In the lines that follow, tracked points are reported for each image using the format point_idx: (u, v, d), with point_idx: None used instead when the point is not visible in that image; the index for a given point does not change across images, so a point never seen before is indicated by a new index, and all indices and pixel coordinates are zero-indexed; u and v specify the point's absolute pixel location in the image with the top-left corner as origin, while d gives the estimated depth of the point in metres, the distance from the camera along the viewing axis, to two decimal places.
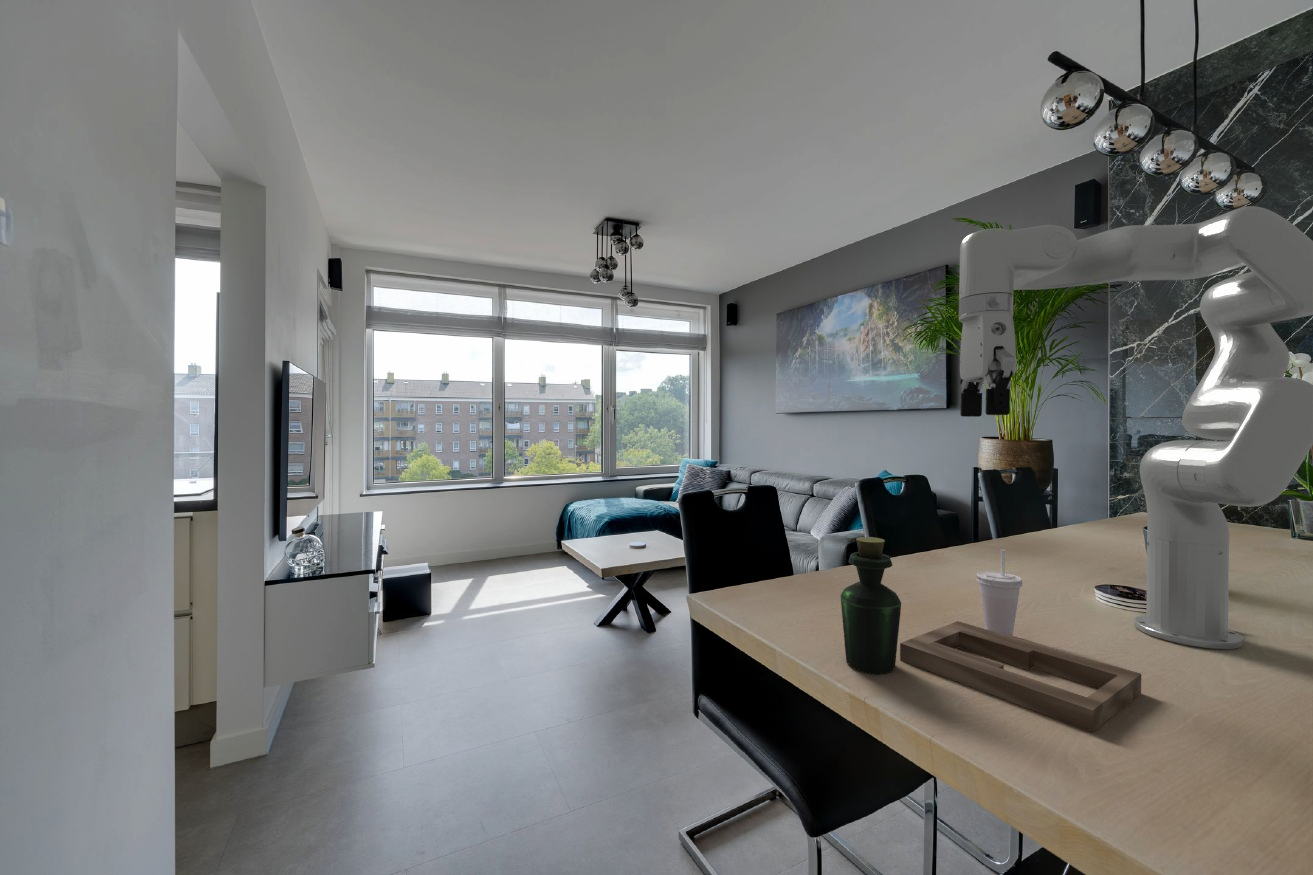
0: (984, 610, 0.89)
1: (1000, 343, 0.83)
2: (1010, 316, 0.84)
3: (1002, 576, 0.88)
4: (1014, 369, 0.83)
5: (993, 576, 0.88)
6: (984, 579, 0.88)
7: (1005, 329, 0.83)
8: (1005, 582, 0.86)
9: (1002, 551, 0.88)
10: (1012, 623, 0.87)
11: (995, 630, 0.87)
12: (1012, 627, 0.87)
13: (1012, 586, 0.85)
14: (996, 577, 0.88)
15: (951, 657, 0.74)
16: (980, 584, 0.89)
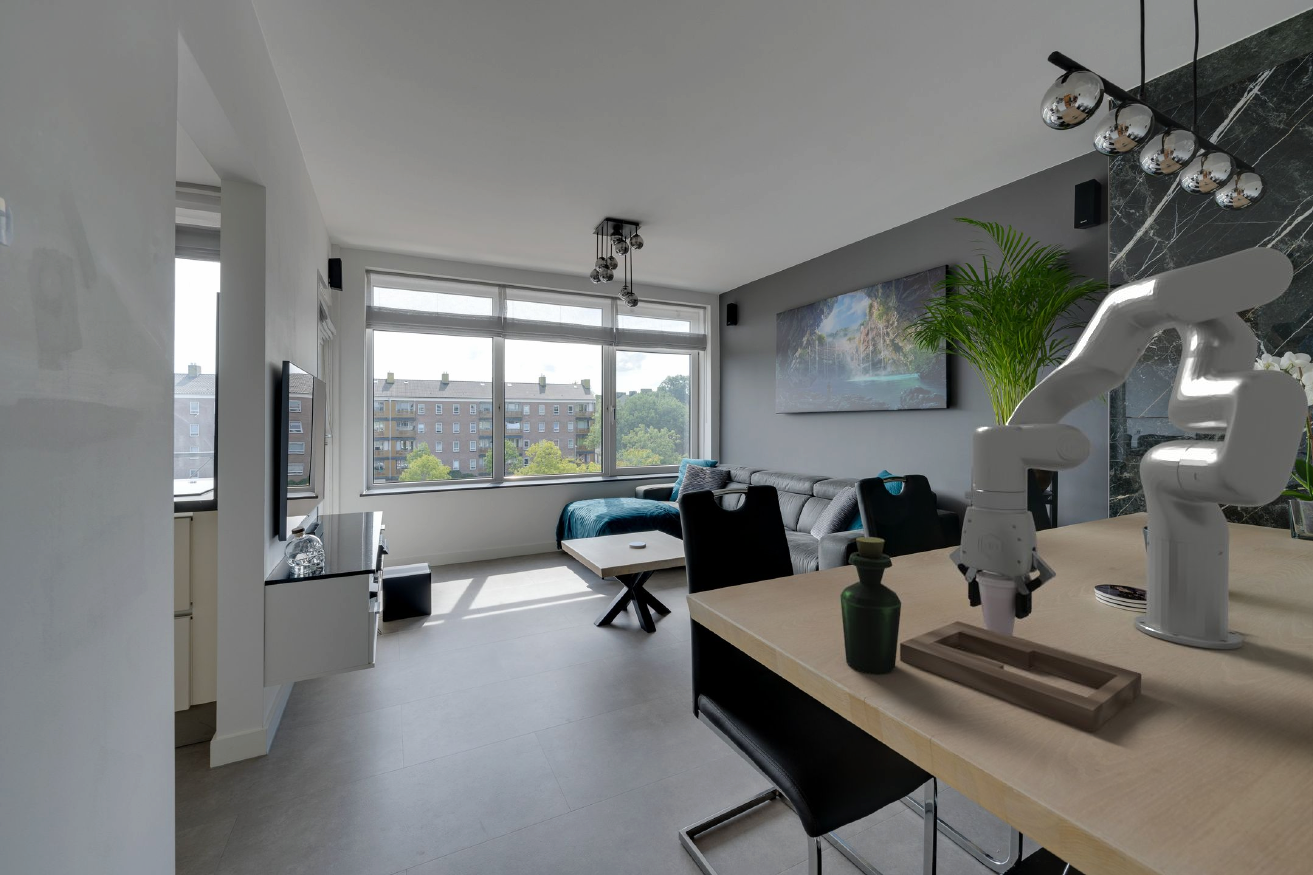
0: (984, 610, 0.89)
1: None
2: (966, 510, 0.91)
3: (1002, 576, 0.88)
4: (961, 559, 0.91)
5: (993, 576, 0.88)
6: (984, 579, 0.88)
7: None
8: (1005, 582, 0.86)
9: None
10: (1012, 623, 0.87)
11: (995, 630, 0.87)
12: (1012, 627, 0.87)
13: (1012, 586, 0.86)
14: (996, 577, 0.88)
15: (951, 657, 0.74)
16: (980, 584, 0.89)
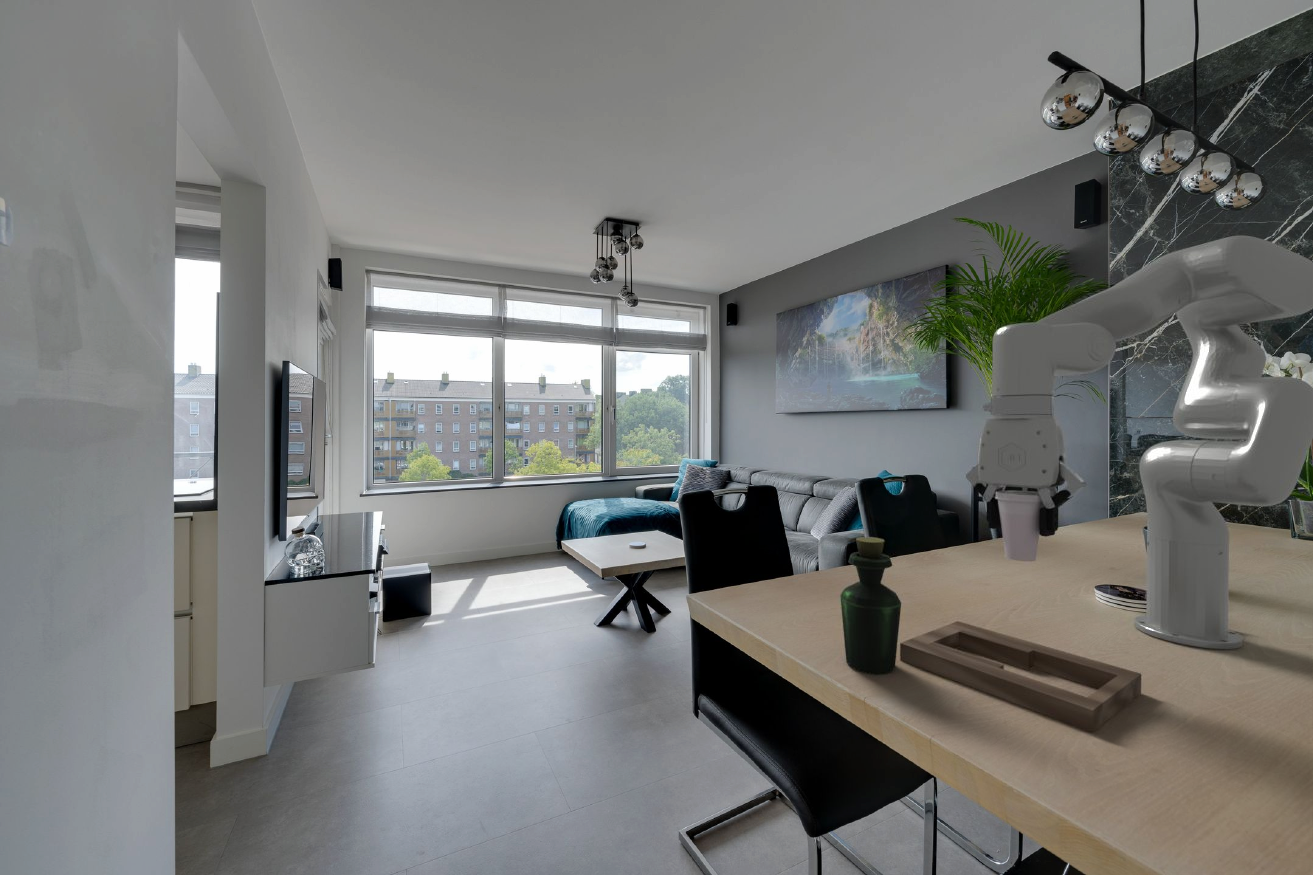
0: (1004, 530, 0.80)
1: None
2: (985, 422, 0.82)
3: (1024, 492, 0.79)
4: (978, 476, 0.83)
5: (1014, 492, 0.80)
6: (1004, 495, 0.79)
7: None
8: (1027, 496, 0.77)
9: None
10: (1035, 543, 0.78)
11: (1016, 551, 0.79)
12: (1035, 547, 0.78)
13: (1035, 500, 0.77)
14: (1017, 493, 0.79)
15: (951, 657, 0.74)
16: (999, 502, 0.81)
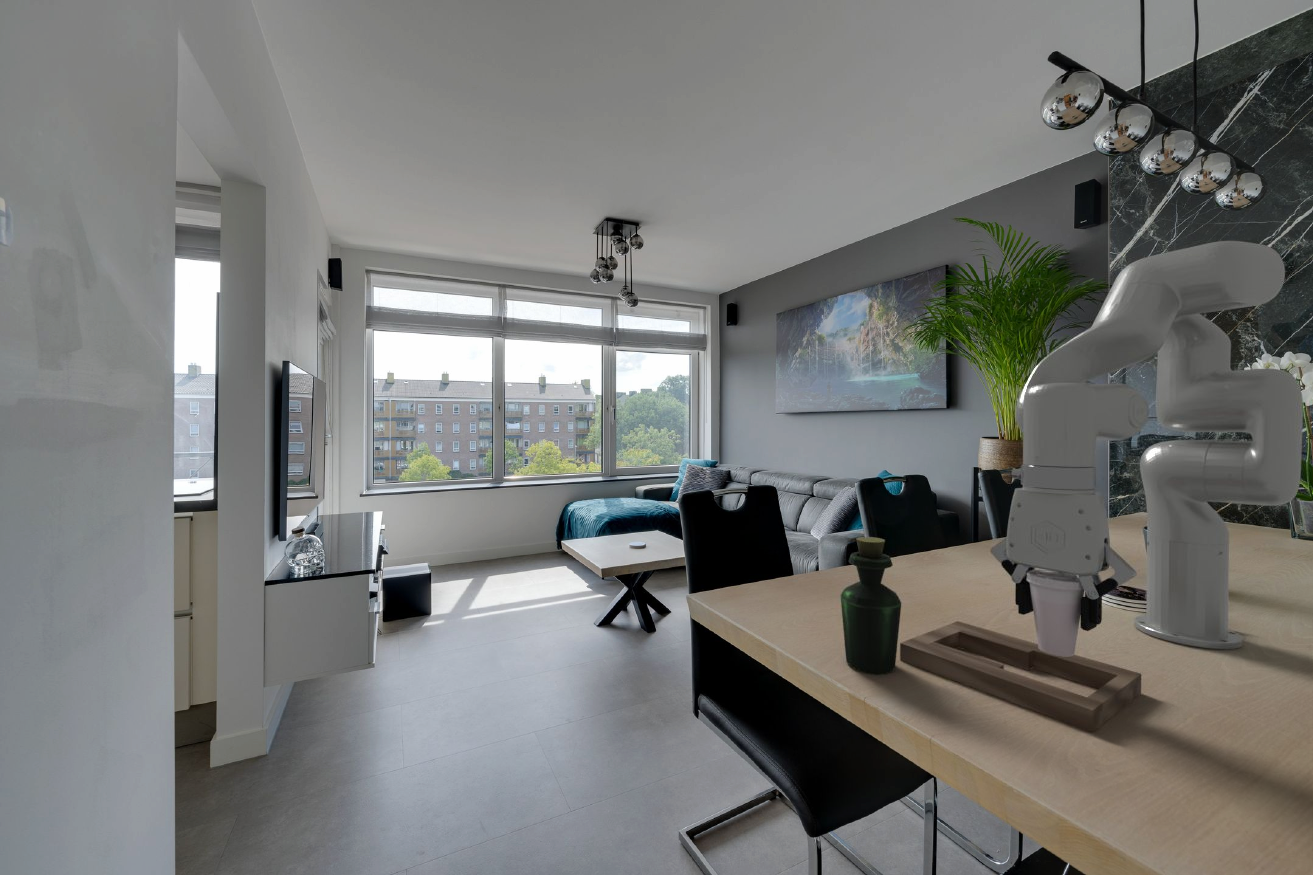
0: (1037, 619, 0.70)
1: None
2: (1014, 493, 0.72)
3: (1061, 575, 0.69)
4: (1007, 554, 0.72)
5: (1049, 575, 0.69)
6: (1038, 579, 0.69)
7: None
8: (1067, 583, 0.67)
9: None
10: (1075, 636, 0.68)
11: (1053, 644, 0.68)
12: (1075, 641, 0.68)
13: (1076, 588, 0.67)
14: (1053, 577, 0.69)
15: (951, 657, 0.74)
16: (1032, 586, 0.70)
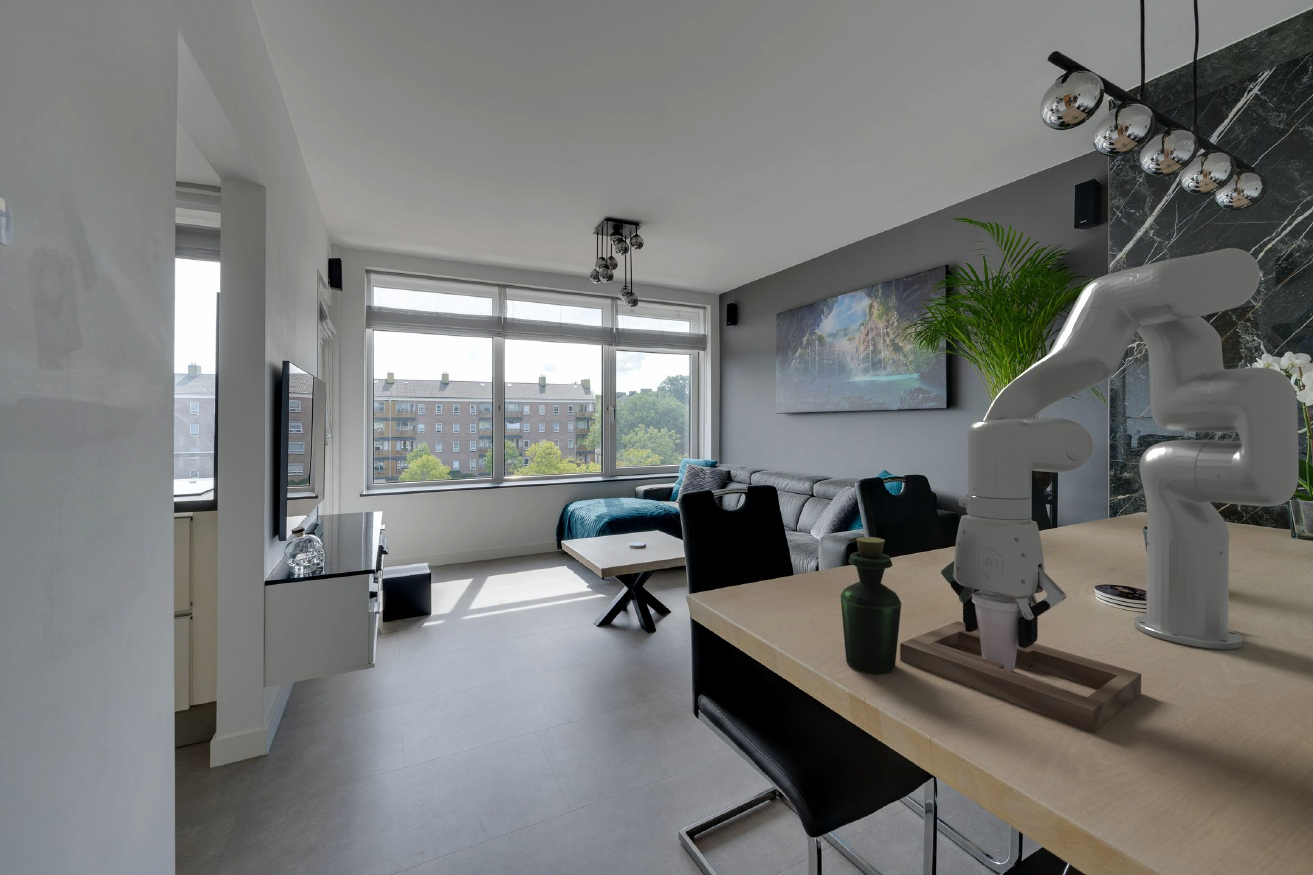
0: (981, 637, 0.76)
1: None
2: (960, 520, 0.78)
3: (1002, 597, 0.75)
4: (954, 576, 0.78)
5: (991, 597, 0.75)
6: (981, 601, 0.75)
7: None
8: (1005, 604, 0.73)
9: None
10: (1014, 652, 0.74)
11: (994, 660, 0.74)
12: (1014, 657, 0.74)
13: (1014, 609, 0.73)
14: (995, 598, 0.75)
15: (951, 657, 0.74)
16: (976, 606, 0.76)
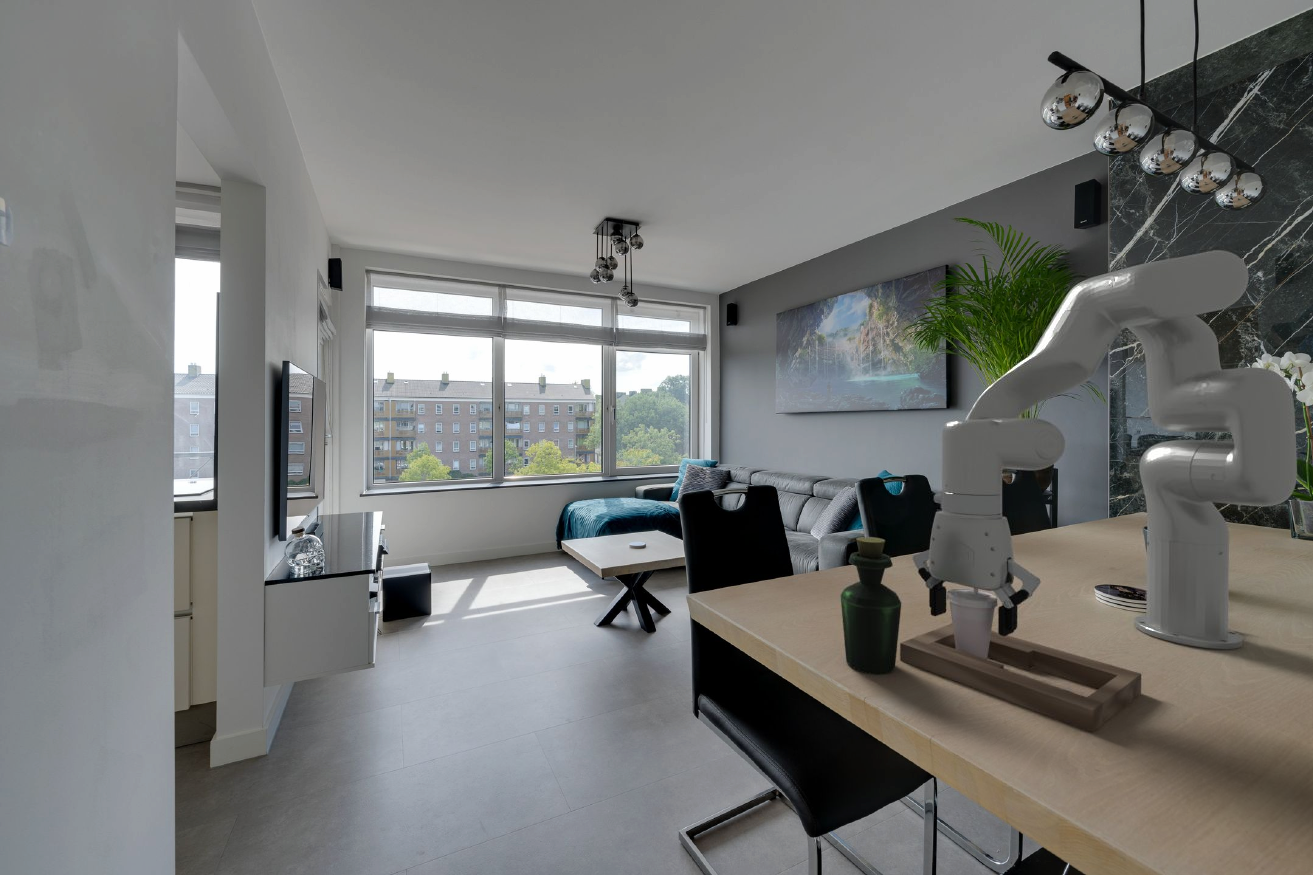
0: (955, 633, 0.79)
1: None
2: (935, 516, 0.81)
3: (975, 595, 0.78)
4: (929, 570, 0.81)
5: (965, 595, 0.79)
6: (954, 598, 0.78)
7: None
8: (977, 602, 0.76)
9: None
10: (986, 648, 0.77)
11: None
12: (986, 652, 0.77)
13: (985, 607, 0.76)
14: (968, 596, 0.78)
15: (951, 657, 0.74)
16: (951, 603, 0.79)
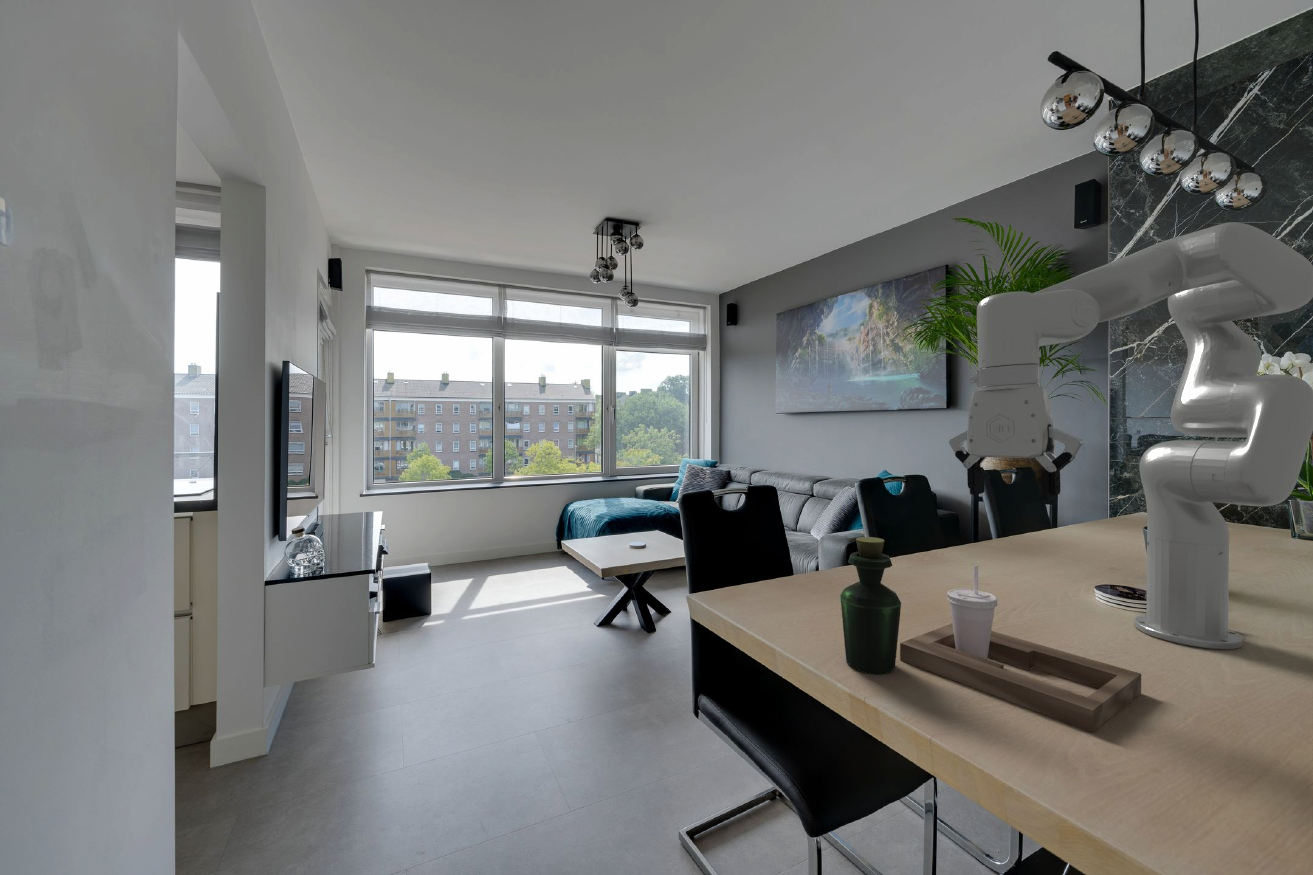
0: (955, 633, 0.79)
1: None
2: (972, 395, 0.82)
3: (975, 595, 0.78)
4: (968, 449, 0.82)
5: (965, 595, 0.79)
6: (954, 598, 0.78)
7: None
8: (977, 602, 0.76)
9: (975, 567, 0.78)
10: (986, 648, 0.77)
11: None
12: (986, 652, 0.77)
13: (985, 607, 0.76)
14: (968, 596, 0.78)
15: (951, 657, 0.74)
16: (951, 603, 0.79)
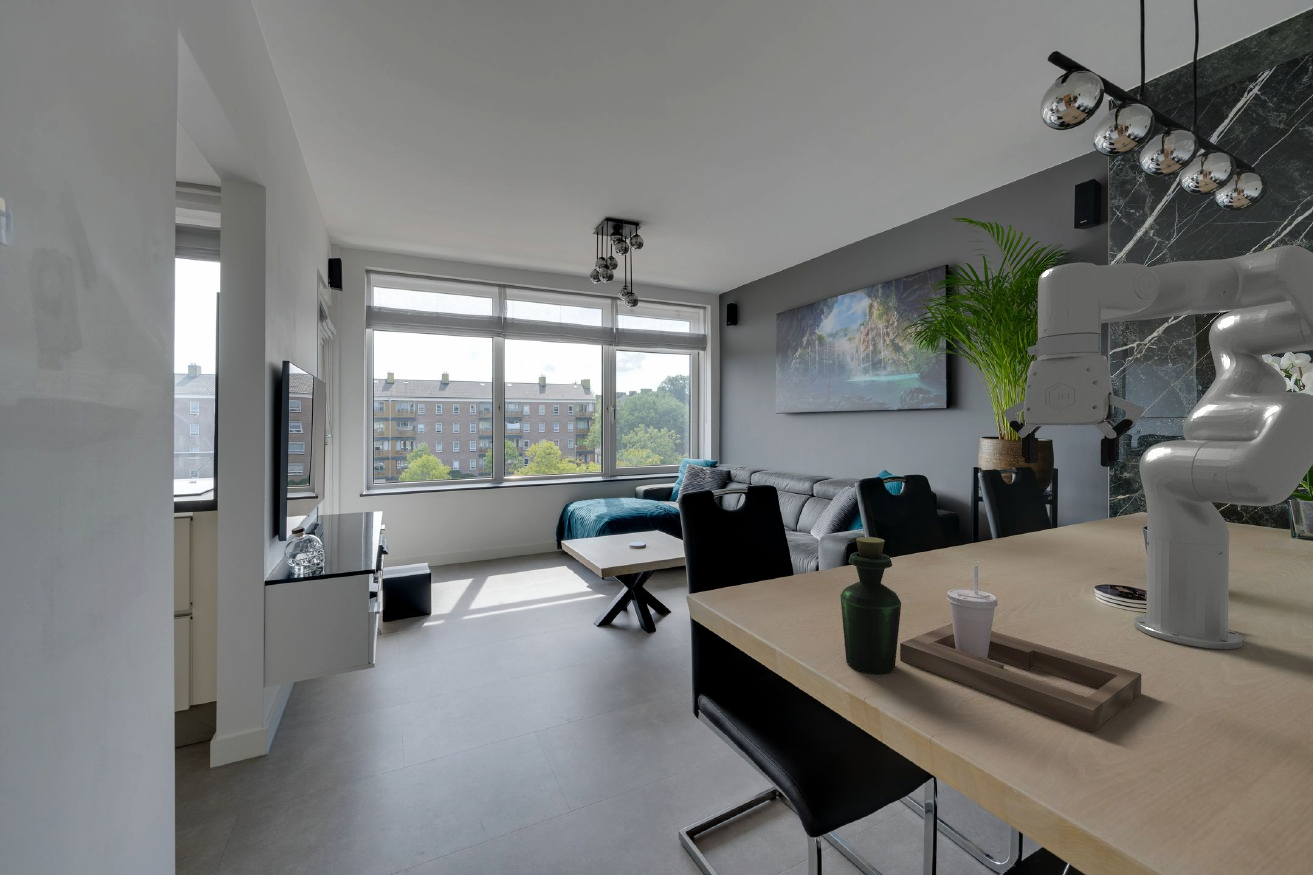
0: (955, 633, 0.79)
1: None
2: (1030, 365, 0.84)
3: (975, 595, 0.78)
4: (1024, 418, 0.84)
5: (965, 595, 0.79)
6: (954, 598, 0.78)
7: None
8: (977, 602, 0.76)
9: (975, 567, 0.79)
10: (986, 648, 0.77)
11: None
12: (986, 652, 0.77)
13: (985, 607, 0.76)
14: (968, 596, 0.78)
15: (951, 657, 0.74)
16: (951, 603, 0.79)
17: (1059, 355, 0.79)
